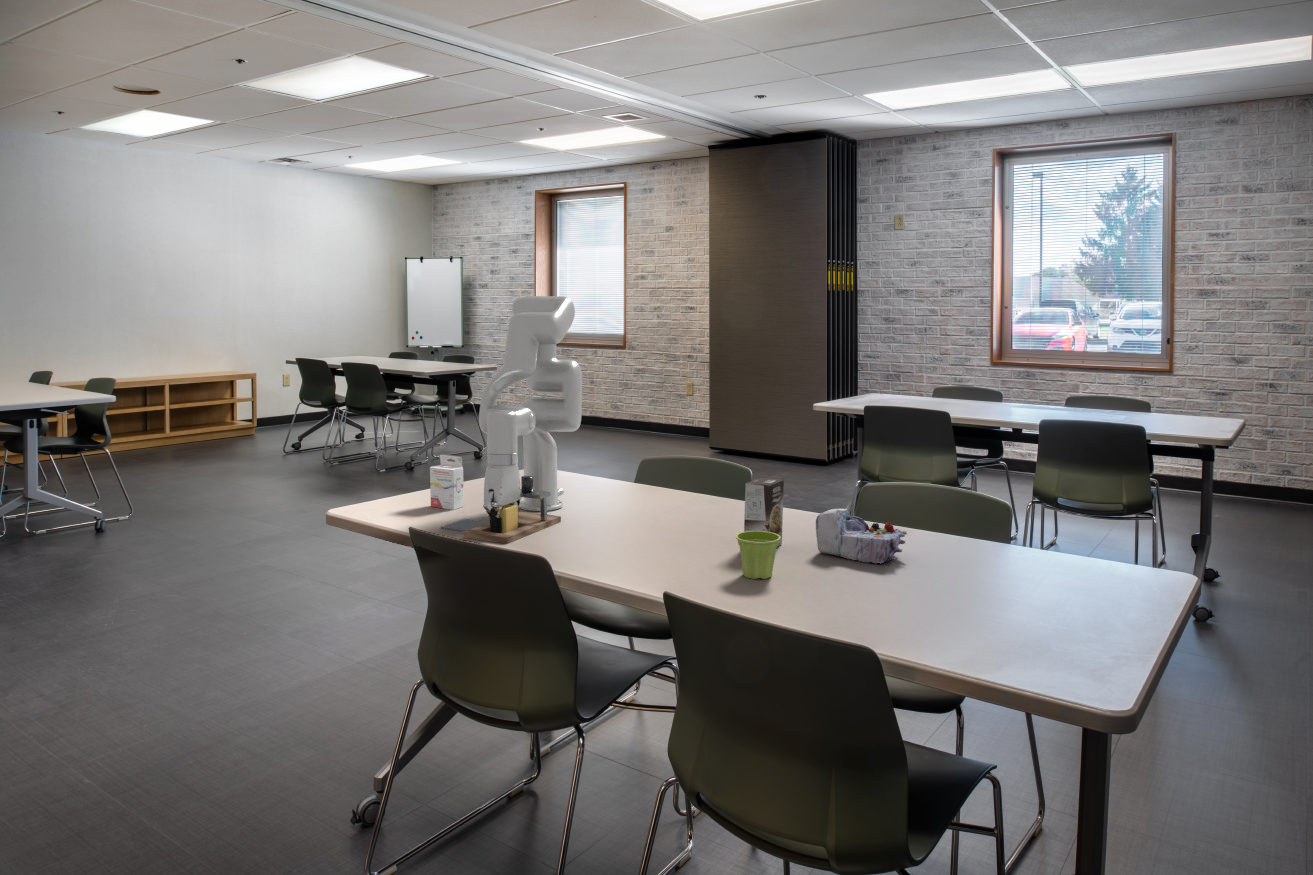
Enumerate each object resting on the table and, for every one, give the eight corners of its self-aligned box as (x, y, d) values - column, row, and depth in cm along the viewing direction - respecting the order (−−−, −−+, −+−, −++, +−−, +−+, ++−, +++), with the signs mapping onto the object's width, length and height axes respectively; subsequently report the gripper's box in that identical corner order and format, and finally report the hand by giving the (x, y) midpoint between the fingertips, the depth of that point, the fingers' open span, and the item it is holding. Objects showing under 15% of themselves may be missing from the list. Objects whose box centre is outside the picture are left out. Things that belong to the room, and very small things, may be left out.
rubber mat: (464, 520, 231) (464, 518, 231) (495, 524, 226) (495, 522, 226) (440, 528, 222) (440, 526, 222) (472, 532, 217) (472, 531, 217)
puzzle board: (520, 516, 235) (519, 511, 235) (560, 521, 230) (560, 516, 229) (463, 537, 213) (463, 531, 212) (507, 543, 207) (507, 537, 207)
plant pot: (762, 585, 177) (763, 544, 175) (726, 575, 183) (727, 536, 182) (787, 575, 184) (789, 535, 182) (751, 566, 190) (752, 528, 189)
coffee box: (767, 552, 201) (769, 485, 199) (742, 548, 204) (744, 482, 202) (783, 544, 209) (785, 479, 206) (759, 540, 212) (760, 476, 210)
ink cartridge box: (429, 507, 246) (428, 456, 244) (441, 503, 250) (439, 454, 248) (453, 510, 242) (452, 458, 240) (464, 506, 247) (463, 456, 245)
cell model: (826, 501, 208) (910, 511, 199) (823, 544, 209) (907, 556, 201) (811, 511, 196) (900, 523, 188) (808, 556, 198) (896, 570, 189)
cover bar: (515, 513, 231) (515, 473, 230) (550, 517, 227) (550, 476, 225) (505, 517, 227) (504, 476, 225) (540, 521, 222) (540, 480, 221)
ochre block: (501, 530, 220) (501, 503, 219) (517, 532, 218) (517, 505, 217) (490, 534, 216) (489, 507, 215) (506, 536, 214) (506, 509, 213)
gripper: (509, 453, 224) (511, 520, 226) (469, 463, 208) (470, 535, 211) (534, 455, 221) (535, 523, 223) (494, 466, 205) (496, 539, 208)
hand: (503, 528), depth 217 cm, fingers open, 6 cm apart
